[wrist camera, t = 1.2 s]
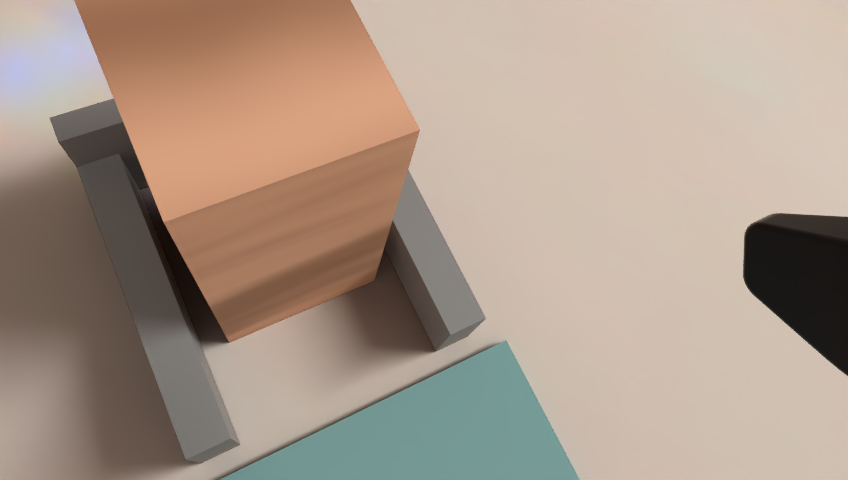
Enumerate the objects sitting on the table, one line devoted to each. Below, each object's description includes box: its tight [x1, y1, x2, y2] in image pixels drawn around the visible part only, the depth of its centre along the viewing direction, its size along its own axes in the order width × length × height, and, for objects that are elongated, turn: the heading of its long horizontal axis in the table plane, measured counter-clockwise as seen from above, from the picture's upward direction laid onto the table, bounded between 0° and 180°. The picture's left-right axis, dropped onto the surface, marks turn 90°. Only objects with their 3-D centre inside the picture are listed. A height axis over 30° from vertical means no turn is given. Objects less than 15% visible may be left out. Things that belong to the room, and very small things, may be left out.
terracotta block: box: [75, 0, 420, 343], centre depth 17 cm, size 5×5×10 cm
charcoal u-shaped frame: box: [50, 99, 486, 463], centre depth 20 cm, size 10×9×4 cm
